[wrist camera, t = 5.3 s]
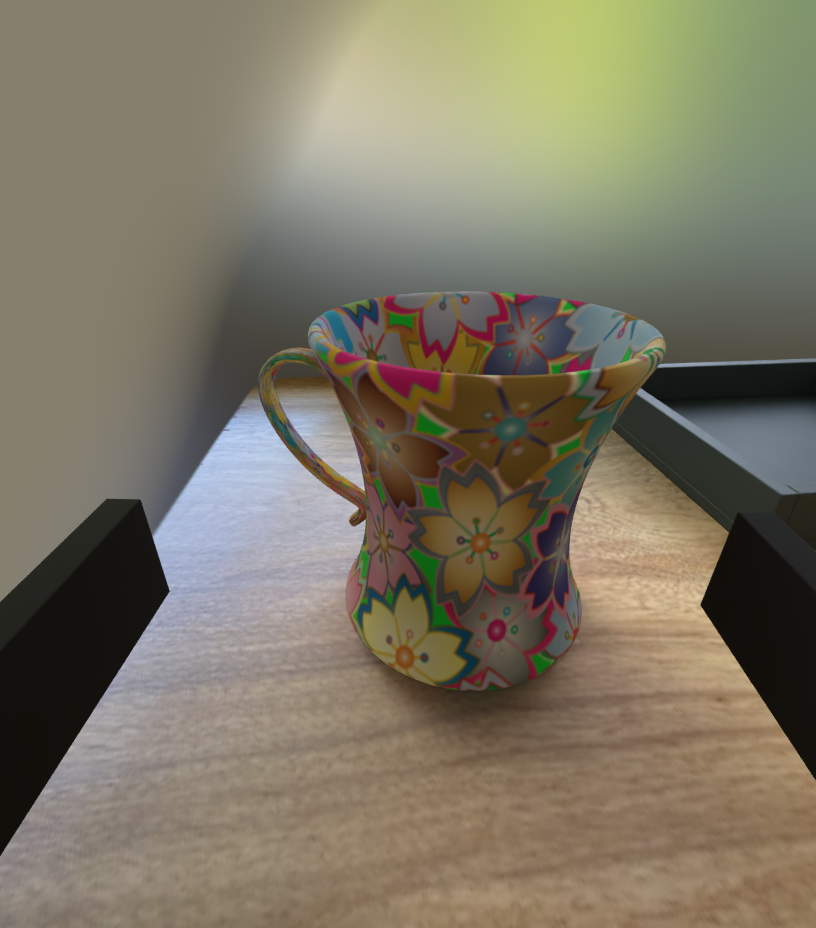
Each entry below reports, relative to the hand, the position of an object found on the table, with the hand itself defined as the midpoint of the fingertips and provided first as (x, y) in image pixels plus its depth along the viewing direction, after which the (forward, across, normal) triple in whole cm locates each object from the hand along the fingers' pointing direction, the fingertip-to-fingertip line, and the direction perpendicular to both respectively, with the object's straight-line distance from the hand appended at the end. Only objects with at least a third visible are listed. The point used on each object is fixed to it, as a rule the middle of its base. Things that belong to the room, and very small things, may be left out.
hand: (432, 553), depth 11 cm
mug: (+5, 0, -7) cm, 8 cm away
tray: (+18, +22, -6) cm, 29 cm away
